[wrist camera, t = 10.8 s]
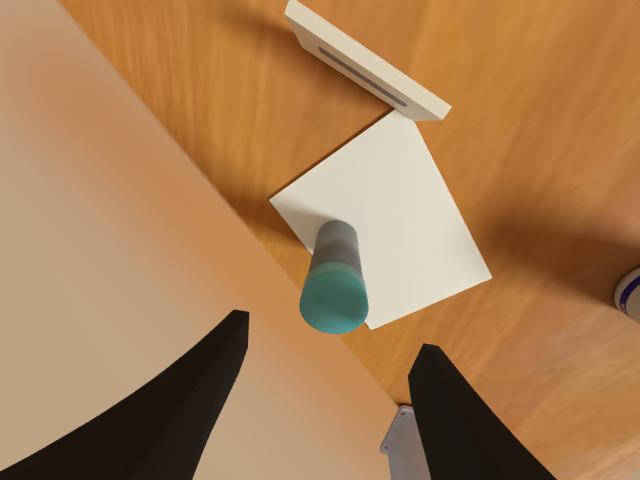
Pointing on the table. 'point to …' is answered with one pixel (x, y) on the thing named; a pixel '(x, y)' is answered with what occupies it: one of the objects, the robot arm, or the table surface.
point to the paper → (389, 218)
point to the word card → (363, 65)
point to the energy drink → (629, 295)
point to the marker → (335, 282)
